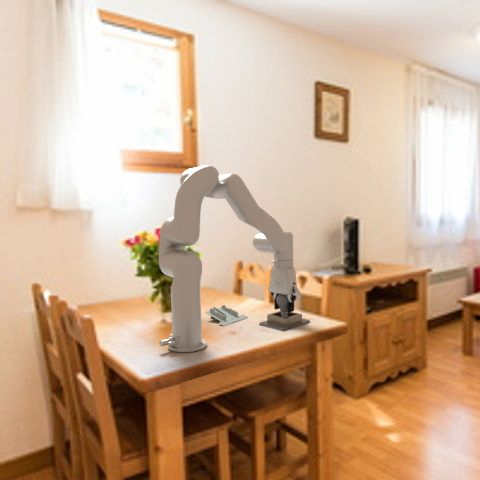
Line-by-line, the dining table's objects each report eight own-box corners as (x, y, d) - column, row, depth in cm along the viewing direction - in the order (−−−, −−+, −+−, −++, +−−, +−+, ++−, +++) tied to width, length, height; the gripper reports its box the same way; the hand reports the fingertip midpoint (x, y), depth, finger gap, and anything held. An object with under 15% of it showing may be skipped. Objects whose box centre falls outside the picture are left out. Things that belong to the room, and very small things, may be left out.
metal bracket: (201, 308, 165) (225, 301, 176) (198, 321, 166) (223, 313, 178) (226, 323, 156) (251, 315, 168) (224, 336, 158) (248, 327, 169)
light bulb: (280, 314, 163) (280, 290, 162) (294, 316, 160) (294, 291, 159) (274, 318, 158) (273, 292, 157) (288, 320, 155) (288, 294, 154)
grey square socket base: (282, 331, 149) (282, 321, 149) (259, 324, 158) (259, 315, 158) (309, 322, 160) (309, 313, 160) (286, 316, 169) (286, 308, 169)
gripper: (260, 263, 161) (261, 308, 162) (294, 267, 149) (295, 315, 150) (273, 261, 166) (274, 305, 167) (307, 264, 154) (308, 312, 155)
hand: (284, 309), depth 159 cm, fingers closed on light bulb, 6 cm apart
